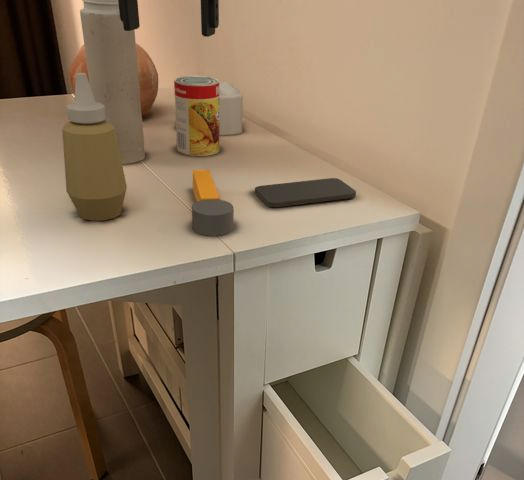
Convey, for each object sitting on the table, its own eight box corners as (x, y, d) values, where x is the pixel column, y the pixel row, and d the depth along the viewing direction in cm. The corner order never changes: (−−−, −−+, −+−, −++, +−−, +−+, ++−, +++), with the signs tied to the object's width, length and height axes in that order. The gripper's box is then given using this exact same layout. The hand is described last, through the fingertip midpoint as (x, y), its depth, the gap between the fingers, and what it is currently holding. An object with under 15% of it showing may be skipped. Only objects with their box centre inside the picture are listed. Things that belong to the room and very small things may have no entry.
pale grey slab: (244, 134, 113) (245, 88, 108) (180, 135, 111) (177, 88, 105) (236, 121, 121) (237, 77, 116) (176, 121, 119) (174, 77, 114)
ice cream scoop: (236, 235, 74) (236, 212, 73) (194, 237, 73) (194, 214, 71) (219, 189, 88) (218, 169, 86) (183, 190, 87) (182, 170, 85)
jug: (70, 107, 124) (53, 3, 113) (149, 103, 130) (141, 3, 119) (82, 129, 111) (65, 13, 99) (170, 123, 117) (163, 13, 105)
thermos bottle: (89, 158, 97) (61, -36, 80) (118, 147, 103) (97, -36, 86) (126, 167, 94) (105, -33, 78) (154, 154, 100) (139, -33, 83)
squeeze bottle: (67, 205, 80) (44, 68, 69) (124, 200, 82) (109, 66, 72) (73, 228, 74) (48, 81, 63) (134, 221, 77) (120, 79, 66)
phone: (252, 186, 87) (337, 177, 92) (252, 191, 87) (336, 182, 92) (270, 203, 81) (359, 193, 86) (269, 209, 82) (358, 198, 87)
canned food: (228, 151, 104) (228, 81, 96) (194, 159, 99) (192, 86, 92) (202, 141, 108) (200, 73, 101) (169, 148, 104) (164, 78, 97)
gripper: (60, -170, 54) (87, 31, 64) (231, -168, 51) (231, 41, 61) (96, -158, 60) (116, 24, 70) (251, -157, 57) (248, 33, 67)
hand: (169, 32), depth 66 cm, fingers open, 9 cm apart
